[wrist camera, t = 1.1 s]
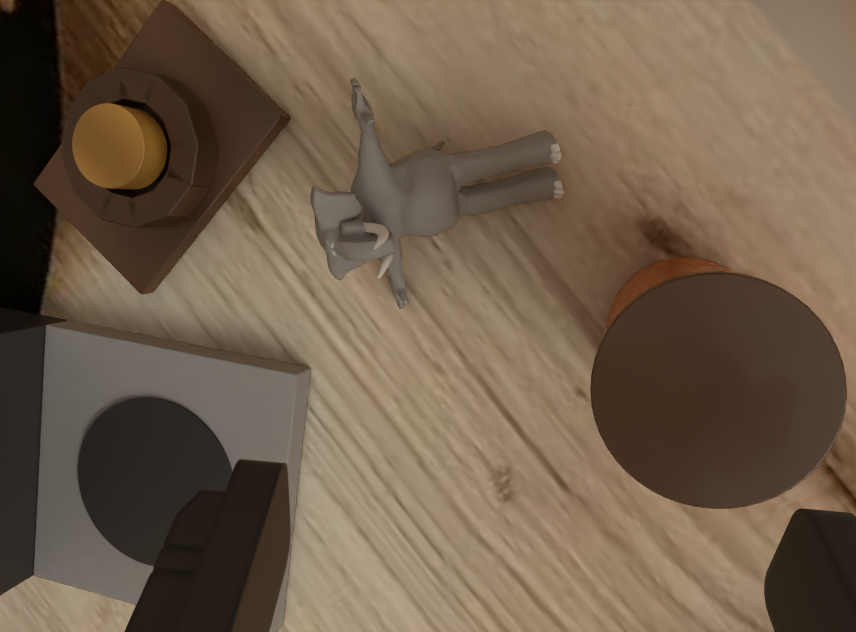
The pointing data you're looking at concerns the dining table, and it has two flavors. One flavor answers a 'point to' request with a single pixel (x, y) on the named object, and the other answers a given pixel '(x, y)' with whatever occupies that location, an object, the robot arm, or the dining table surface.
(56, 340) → the dark brown rectangular box
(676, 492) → the orange lidded canister
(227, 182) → the control block
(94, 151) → the button
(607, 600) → the dining table surface
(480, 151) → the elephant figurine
